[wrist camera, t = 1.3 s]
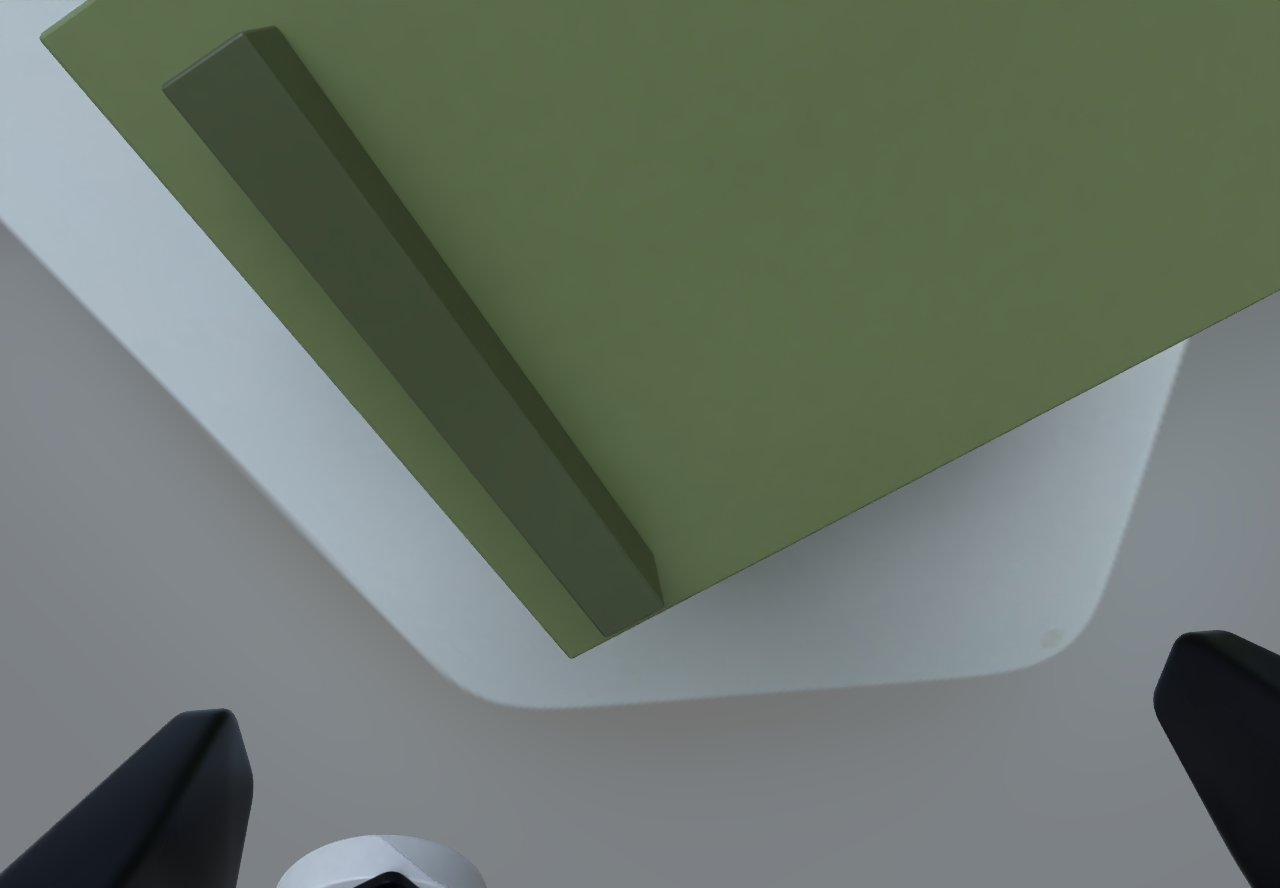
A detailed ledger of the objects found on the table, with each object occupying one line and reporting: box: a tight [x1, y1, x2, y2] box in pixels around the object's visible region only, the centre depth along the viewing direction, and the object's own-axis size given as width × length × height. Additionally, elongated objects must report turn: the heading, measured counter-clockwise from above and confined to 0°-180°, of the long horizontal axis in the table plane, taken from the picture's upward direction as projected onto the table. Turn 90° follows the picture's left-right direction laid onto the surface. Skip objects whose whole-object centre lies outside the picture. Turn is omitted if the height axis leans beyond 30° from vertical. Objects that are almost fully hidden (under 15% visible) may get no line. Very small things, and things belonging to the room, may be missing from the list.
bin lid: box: [40, 0, 1280, 659], centre depth 12 cm, size 15×13×2 cm
